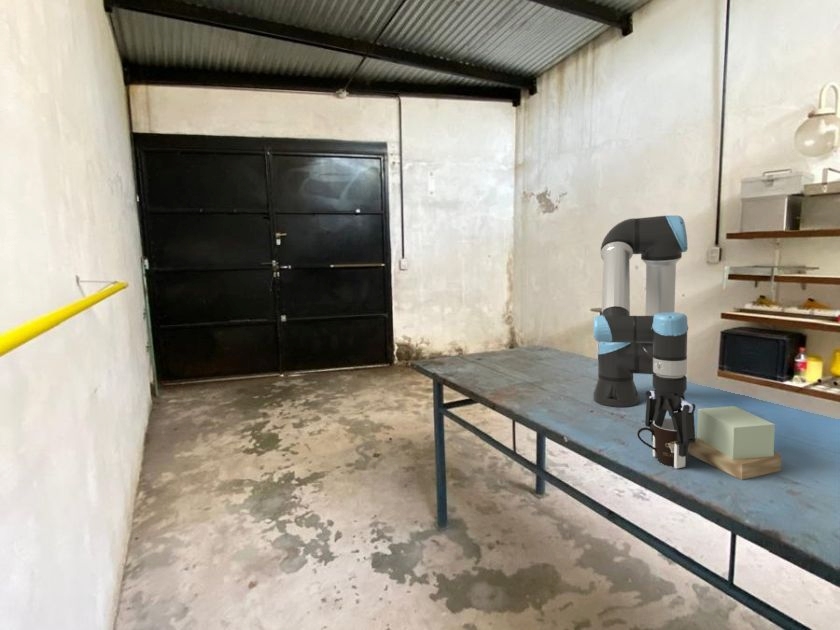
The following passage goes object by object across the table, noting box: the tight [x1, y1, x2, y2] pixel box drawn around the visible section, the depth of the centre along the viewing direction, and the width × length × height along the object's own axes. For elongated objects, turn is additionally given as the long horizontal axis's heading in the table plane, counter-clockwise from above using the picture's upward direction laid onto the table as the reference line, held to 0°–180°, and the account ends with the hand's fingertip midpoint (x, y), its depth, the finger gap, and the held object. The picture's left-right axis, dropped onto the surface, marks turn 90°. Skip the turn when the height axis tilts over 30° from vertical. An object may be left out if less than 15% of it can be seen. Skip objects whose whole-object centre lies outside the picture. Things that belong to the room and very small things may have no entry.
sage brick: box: [696, 405, 776, 460], centre depth 113 cm, size 13×10×8 cm
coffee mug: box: [637, 417, 689, 468], centre depth 116 cm, size 12×9×10 cm
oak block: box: [687, 437, 782, 481], centre depth 114 cm, size 15×12×4 cm
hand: (668, 460), depth 116 cm, fingers closed on coffee mug, 6 cm apart
